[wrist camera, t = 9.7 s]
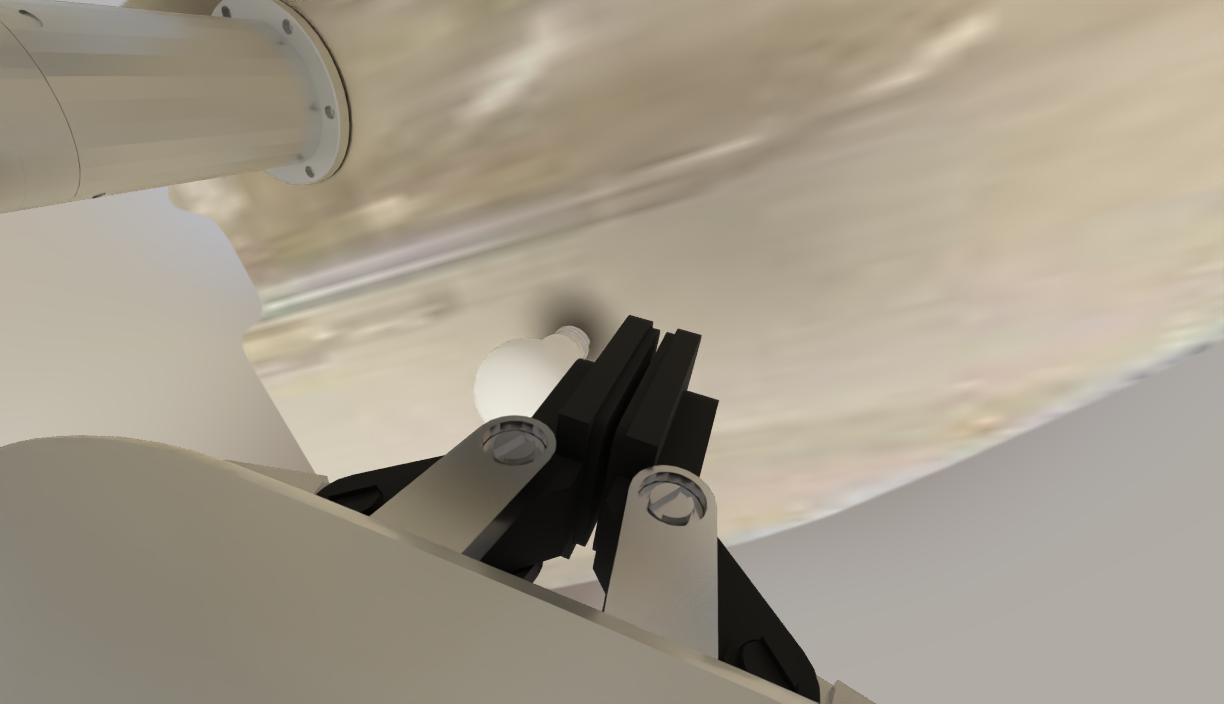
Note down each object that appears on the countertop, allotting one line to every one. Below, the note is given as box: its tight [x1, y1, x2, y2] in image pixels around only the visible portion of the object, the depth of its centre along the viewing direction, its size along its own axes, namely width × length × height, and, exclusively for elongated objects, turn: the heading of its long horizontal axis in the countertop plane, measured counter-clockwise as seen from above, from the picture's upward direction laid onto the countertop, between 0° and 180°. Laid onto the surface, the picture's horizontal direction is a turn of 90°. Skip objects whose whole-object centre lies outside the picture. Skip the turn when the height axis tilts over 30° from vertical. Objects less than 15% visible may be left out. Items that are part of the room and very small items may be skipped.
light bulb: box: [474, 325, 590, 423], centre depth 34 cm, size 7×7×11 cm
